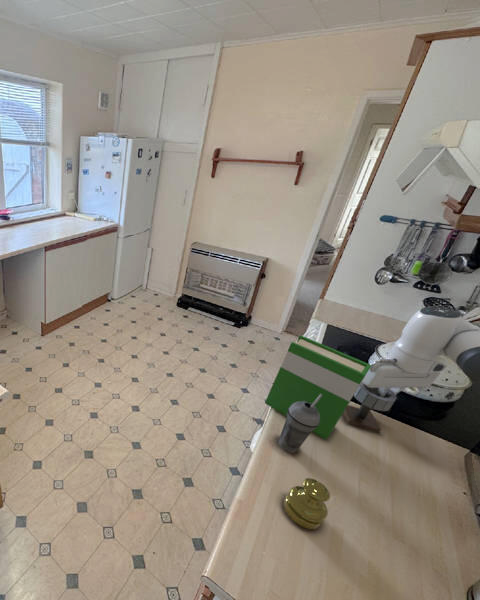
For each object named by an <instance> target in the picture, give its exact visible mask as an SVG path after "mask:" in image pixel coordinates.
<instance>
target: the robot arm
mask: <svg viewBox="0 0 480 600" xmlns="http://www.w3.org/2000/svg"><path fill="white" fill-rule="evenodd" d="M440 356H444V357H448V358H449V359H450V360H451V361H452V362H453V363H455V365H457V368H459V369H460V370H461V372H462V373H463V374H464V375H465V376H466V377H467V378H469V379H471V380H472V381H475V382H478V383H480V327H479V326H478V325H475V324H473V323H471V322H469V321H468V320H466V319H465V318H464V317H463V316H462V314H461V313H459V312H458V311H457V310H454V309H451V308H448V307H443V306H436V305H432V306H431V305H430V306H424V307H422V308H420V309H418V310H417V311H416V312H415V313H414V314H413V315H412V316H411V318H410V319H409V320H408V321H407V323H406V324H405V326H404V328H403V329H402V331H401V335H400V337H399V338H398V339H397V340H396V341H395V342H394V343H393V345H392V346H391V348H390V350H389V352H388V353H387V355H386V358H379V359H377V360H374V361H372V362H370V363H369V364H370V365H372V366H371V367H370V369H369V371H368V372H367V374H366V376H365V377H364V379H363V381H362V382H363V383H364V384H365V385H366V386H368V387H370V388H379V390H378V393H379V394H380V397H387V395H388V393H387V390H388V389H389V390H391V391H392V392H393V393H394V394H395V395H397V394H399V393H401V392H402V391H404V390H405V388H406V389H407V388H409V389H410V388H412V389H413V388H416V389H417V388H418V389H420V388H422V389H423V388H425V389H426V388H428V387H429V386H432V385H433V383H434V382H435V381H436V380H437V378H438V377H440V374H441V372H444V371H445V369H446V368H447V367H448V366H447V364H445V363H443V362H442V361H440V360H439V359H438V357H440Z"/></svg>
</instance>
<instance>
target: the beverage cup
mask: <svg viewBox="0 0 480 600" xmlns="http://www.w3.org/2000/svg"><path fill="white" fill-rule="evenodd" d="M321 397H322V394H320V395H319V396H318V398H317V399H316V400H315V401H314V403H313V404H311V403H308V402H305V401H299V402H296V403H293V404H292V405H291V406H290V407H289V408H288V412H287V416H286V418H285V421H284V424H283V427H282V430H281V433H280V434H279V435H280V436H279V438H278V439H279V440H278V445H279V446H280V448H282V449H283V450H284V451H285V452H287V453H291V454H294V453H297V451H298V450H299V449H300V448H301V447H302V445H303V443H304V442H306V440H307V438H308V437H309V436H310V434H312V431H313V430H314V429H315V428H316V427H317V426H318V425H319V421H320V414H319V411H318V410H317V408H316V407H315V406H314V405H315V404H316V403H317V402H318V400H319V399H320V398H321Z"/></svg>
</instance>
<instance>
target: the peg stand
mask: <svg viewBox="0 0 480 600" xmlns="http://www.w3.org/2000/svg"><path fill="white" fill-rule="evenodd" d="M370 393H372V394H374V395H376V396H379V397H380V394H379V393H378V392H376V391H370ZM371 410H373V409H372V408H370V407H368V406H366V405H364V404H363V403H361V405H360V407H355V406H352V405H350V404H348V406H347V407H346V409H345V411H344V412H343V414H342V416H343V418H344V419H345V422H346V424H347V425H350V426H353V427H356V428H360V429H363V430H366V431H370V432H373V433H376V434H380V432H381V428H380V426H379V424H378V422H377V420H376V418H375V416H374V415H373V413H372V411H371Z"/></svg>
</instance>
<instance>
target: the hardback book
mask: <svg viewBox="0 0 480 600" xmlns="http://www.w3.org/2000/svg"><path fill="white" fill-rule="evenodd" d="M370 364H371V363H367V362H365V361H363V360H360V359H358V358H356V357H353V356H351V355H349V354H346V353H343V352H342V351H340V350H337V349H334V348H332V347H330V346H328V345H325V344H323V343H320V342H318V341H316V340H313V339H311V338H309V337H306V336H304V335H302V334H299V336H298V338H297V341H296V342H294V341H291V343H290V345H289V347H288V349H287V351H286V354H285V356H284V358H283V361H282V363H281V366H280V367H279V369H278V372H277V374H276V376H275V379H274V381H273V383H272V385H271V387H270V390H269V392H268V394H267V397H266V399H265V401H264V404H265V405H267V406H269V407H270V408H272V409H274V410H275V411H277V412H279V413H280V414H282V415H284V416H285V417H287V412H288V408H289V407H290V406H291V405H292V404H293V403H296V402H299V401H305V402H308V403H311V404H313V403H314V401H315V400H316V399H317V398H318V396H319V395H320V394H322V397H321V398H320V399H319V400H318V402H317V403H316V404H315V405H314V406H315V407H316V408H317V410H318V411H319V414H320V421H319V425H318V426H317V427H316V428H315V429H314V430H313V431H312V432H313V434H316V435H317V436H319V437H320V438H322V439H324V440H327V439H328V438H329V437H330V435H331V433H332V432H333V431H334V429H335V427H336V426H337V424H338V422H339V421H340V419H341V417H342V416H343V412H344V411H345V409H346V407H347V406H348V405H350V403H351V400H352V399H353V397H354V394H355V392H356V391H357V389H358V387H359V386H360V384H361V382H362V381H363V379H364V377H365V376H366V374H367V372H368V371H369V369H370V367H371V366H372V365H370ZM312 432H311V433H312Z"/></svg>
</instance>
